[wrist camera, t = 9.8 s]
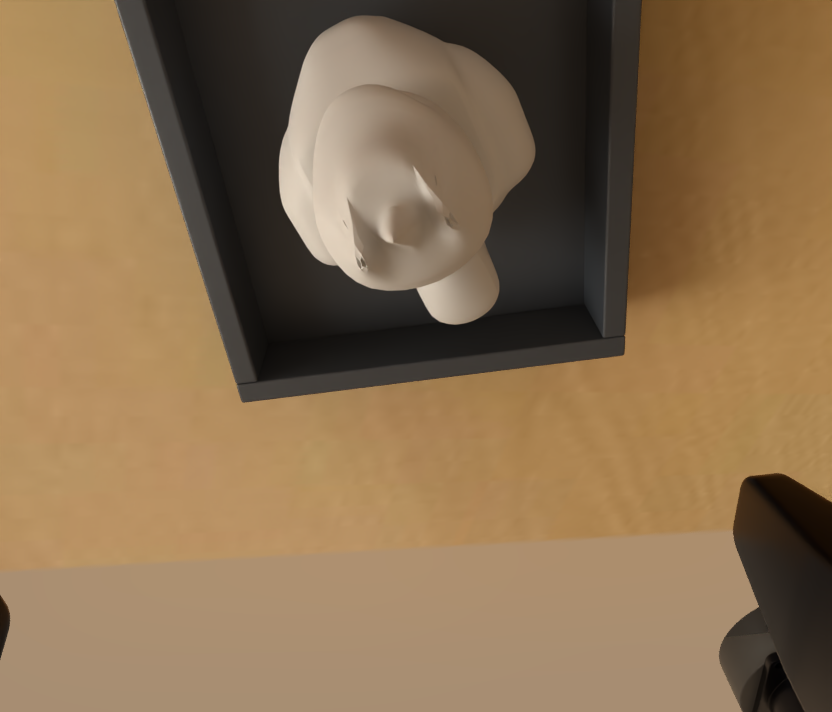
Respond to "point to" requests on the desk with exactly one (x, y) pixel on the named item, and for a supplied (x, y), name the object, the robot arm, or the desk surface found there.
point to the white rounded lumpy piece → (403, 161)
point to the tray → (329, 285)
